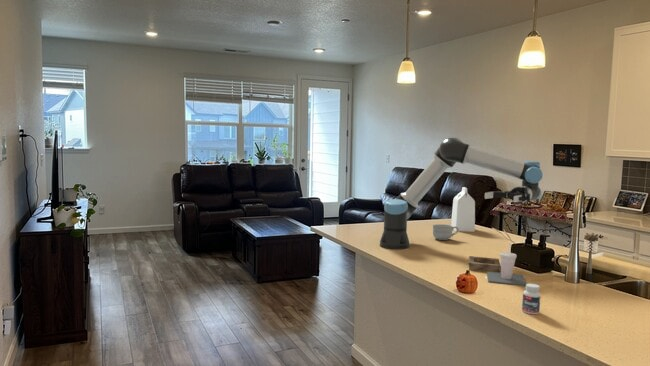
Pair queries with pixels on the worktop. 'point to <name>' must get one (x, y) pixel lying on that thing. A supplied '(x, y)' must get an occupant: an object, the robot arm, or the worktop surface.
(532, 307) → the pill bottle
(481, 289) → the worktop surface
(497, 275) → the mat
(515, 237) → the worktop surface
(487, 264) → the wooden tray
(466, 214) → the milk
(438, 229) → the teacup
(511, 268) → the smoothie
